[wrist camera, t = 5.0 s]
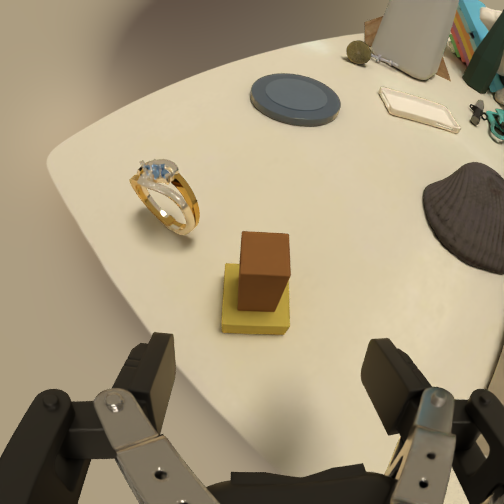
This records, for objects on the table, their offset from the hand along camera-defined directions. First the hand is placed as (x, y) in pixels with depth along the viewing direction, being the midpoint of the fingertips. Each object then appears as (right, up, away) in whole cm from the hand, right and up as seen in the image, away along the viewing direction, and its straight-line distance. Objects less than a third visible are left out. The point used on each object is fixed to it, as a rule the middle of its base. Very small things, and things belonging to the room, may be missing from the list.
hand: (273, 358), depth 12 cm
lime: (+20, +42, +39) cm, 61 cm away
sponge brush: (-1, 0, +14) cm, 14 cm away
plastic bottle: (+35, +48, +43) cm, 74 cm away
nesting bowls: (+77, +68, +58) cm, 118 cm away
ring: (-9, +7, +17) cm, 20 cm away
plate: (+5, +26, +29) cm, 39 cm away
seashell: (+29, +7, +21) cm, 37 cm away
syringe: (+25, +45, +41) cm, 66 cm away
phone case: (+36, +28, +32) cm, 56 cm away
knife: (+50, +36, +37) cm, 72 cm away
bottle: (+61, +51, +47) cm, 92 cm away
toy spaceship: (+59, +34, +37) cm, 77 cm away
